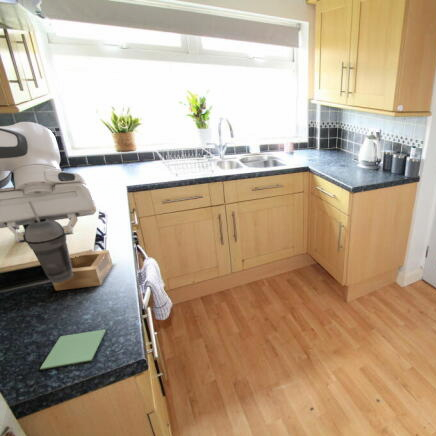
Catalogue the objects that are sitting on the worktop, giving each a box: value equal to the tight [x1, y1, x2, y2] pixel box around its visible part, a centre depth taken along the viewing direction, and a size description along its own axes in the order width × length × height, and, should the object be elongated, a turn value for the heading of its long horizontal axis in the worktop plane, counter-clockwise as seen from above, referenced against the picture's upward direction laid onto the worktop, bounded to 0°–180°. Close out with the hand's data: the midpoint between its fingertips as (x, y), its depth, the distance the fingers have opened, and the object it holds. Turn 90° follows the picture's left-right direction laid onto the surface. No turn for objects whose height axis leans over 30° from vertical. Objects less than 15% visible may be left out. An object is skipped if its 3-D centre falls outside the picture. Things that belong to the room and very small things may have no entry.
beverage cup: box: [24, 201, 73, 284], centre depth 74 cm, size 7×7×20 cm
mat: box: [39, 328, 107, 371], centre depth 77 cm, size 10×10×1 cm
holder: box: [52, 249, 114, 292], centre depth 102 cm, size 12×12×6 cm
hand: (46, 237), depth 73 cm, fingers closed on beverage cup, 7 cm apart
